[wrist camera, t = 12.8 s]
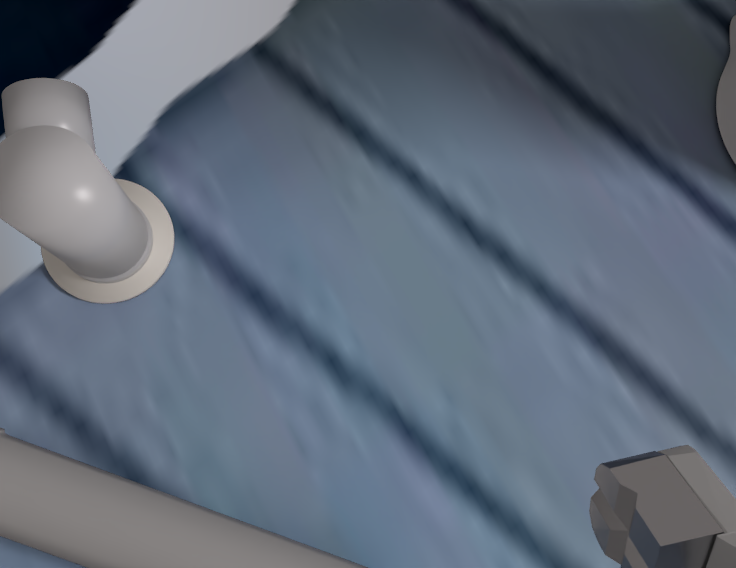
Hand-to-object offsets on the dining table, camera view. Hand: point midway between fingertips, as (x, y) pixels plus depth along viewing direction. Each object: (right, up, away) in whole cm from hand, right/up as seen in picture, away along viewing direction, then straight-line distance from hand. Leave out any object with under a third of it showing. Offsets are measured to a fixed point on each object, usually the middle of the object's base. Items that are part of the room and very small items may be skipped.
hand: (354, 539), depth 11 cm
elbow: (-16, +8, +32) cm, 37 cm away
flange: (-16, +7, +32) cm, 36 cm away
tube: (-10, -11, +29) cm, 33 cm away
